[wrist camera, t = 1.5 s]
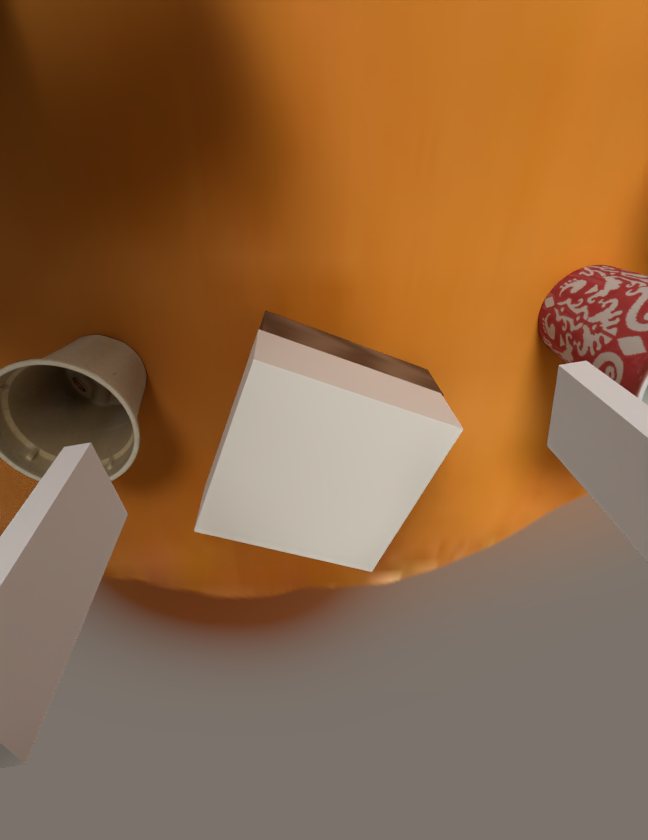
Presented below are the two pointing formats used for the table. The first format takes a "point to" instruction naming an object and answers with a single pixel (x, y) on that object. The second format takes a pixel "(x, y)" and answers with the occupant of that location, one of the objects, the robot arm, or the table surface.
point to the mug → (601, 323)
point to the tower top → (322, 455)
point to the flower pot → (72, 406)
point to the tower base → (347, 350)
